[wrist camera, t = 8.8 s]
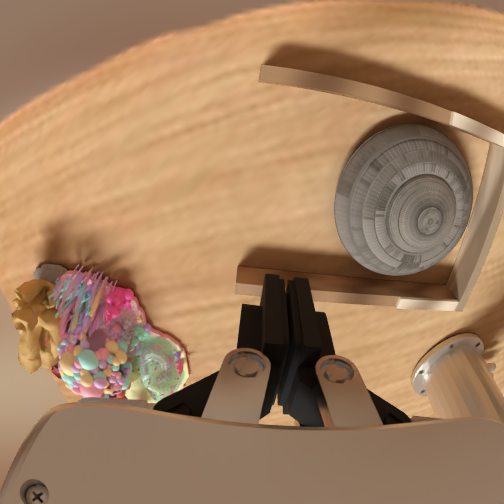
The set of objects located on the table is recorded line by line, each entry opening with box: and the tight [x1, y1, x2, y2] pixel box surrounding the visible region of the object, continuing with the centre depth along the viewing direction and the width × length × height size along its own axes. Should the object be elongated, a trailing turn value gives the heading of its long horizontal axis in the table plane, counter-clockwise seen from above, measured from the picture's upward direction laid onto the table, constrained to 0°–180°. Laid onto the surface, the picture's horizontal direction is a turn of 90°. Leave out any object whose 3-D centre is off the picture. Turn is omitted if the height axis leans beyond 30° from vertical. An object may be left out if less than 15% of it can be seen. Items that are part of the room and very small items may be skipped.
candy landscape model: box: [12, 264, 189, 403], centre depth 33 cm, size 25×24×9 cm
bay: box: [235, 65, 504, 311], centre depth 26 cm, size 25×19×4 cm
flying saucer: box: [334, 124, 473, 276], centre depth 25 cm, size 15×15×6 cm
